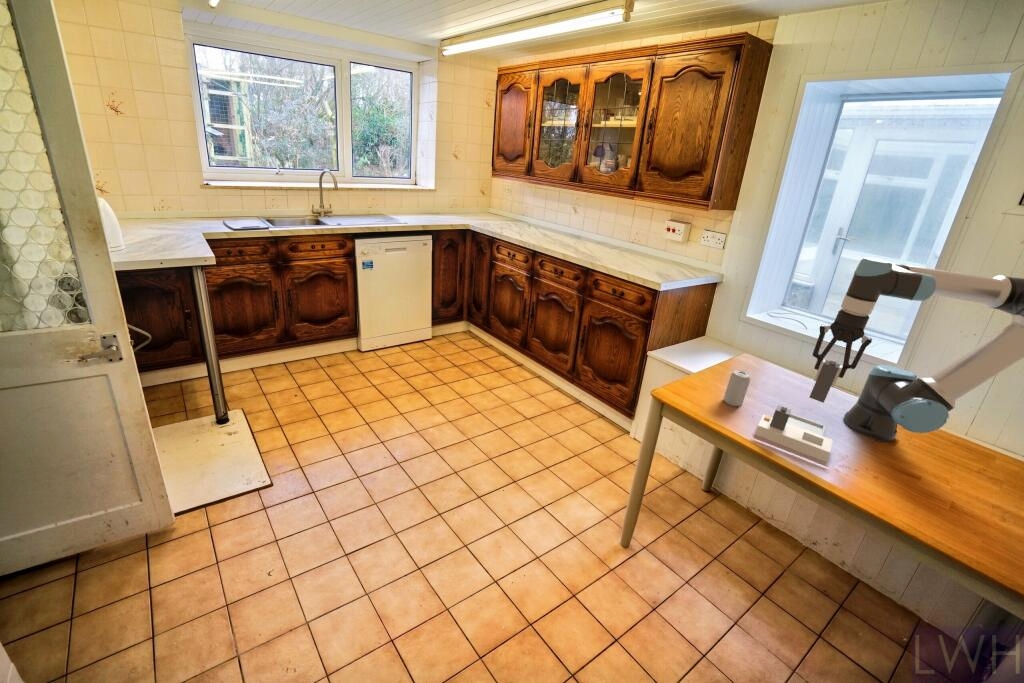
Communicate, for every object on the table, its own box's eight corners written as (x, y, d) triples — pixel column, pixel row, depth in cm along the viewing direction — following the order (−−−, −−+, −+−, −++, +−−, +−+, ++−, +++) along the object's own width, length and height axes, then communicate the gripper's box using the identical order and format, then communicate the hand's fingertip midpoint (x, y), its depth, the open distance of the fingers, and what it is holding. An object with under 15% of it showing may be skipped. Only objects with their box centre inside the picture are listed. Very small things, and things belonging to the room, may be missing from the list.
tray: (823, 429, 160) (825, 425, 160) (820, 441, 153) (822, 438, 152) (784, 415, 167) (786, 411, 166) (780, 426, 159) (781, 423, 159)
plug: (825, 398, 149) (841, 361, 144) (823, 402, 147) (840, 365, 141) (811, 393, 152) (827, 356, 146) (809, 397, 149) (824, 360, 144)
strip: (828, 450, 149) (841, 420, 144) (825, 463, 142) (838, 432, 138) (759, 424, 159) (770, 396, 155) (754, 435, 152) (764, 406, 148)
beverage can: (743, 402, 173) (752, 373, 168) (740, 409, 167) (750, 379, 163) (724, 396, 175) (733, 367, 171) (721, 403, 170) (730, 373, 166)
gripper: (891, 318, 136) (857, 389, 145) (823, 300, 145) (796, 368, 154) (889, 323, 130) (854, 397, 139) (819, 305, 139) (791, 375, 149)
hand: (824, 382), depth 147 cm, fingers closed on plug, 4 cm apart
